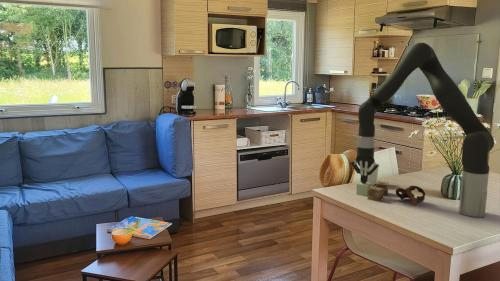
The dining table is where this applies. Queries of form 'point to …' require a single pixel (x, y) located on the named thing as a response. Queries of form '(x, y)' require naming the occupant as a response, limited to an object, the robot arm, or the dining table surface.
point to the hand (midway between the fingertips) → (363, 183)
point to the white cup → (373, 176)
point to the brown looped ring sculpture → (411, 194)
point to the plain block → (363, 188)
